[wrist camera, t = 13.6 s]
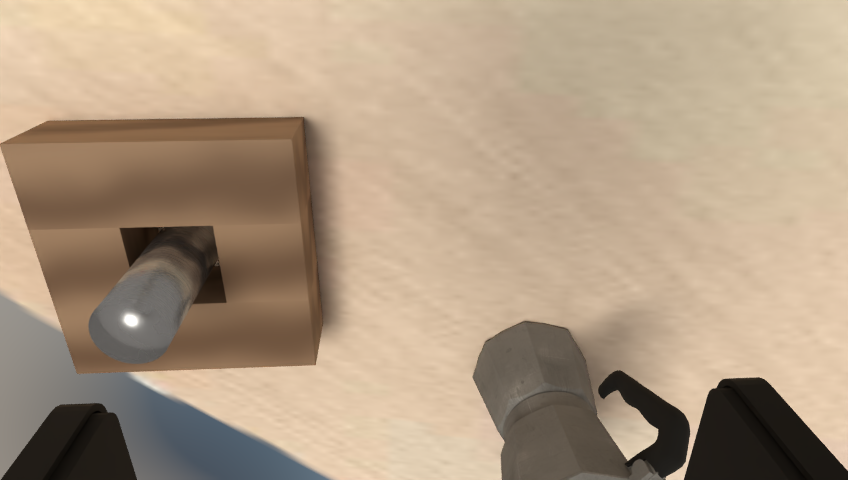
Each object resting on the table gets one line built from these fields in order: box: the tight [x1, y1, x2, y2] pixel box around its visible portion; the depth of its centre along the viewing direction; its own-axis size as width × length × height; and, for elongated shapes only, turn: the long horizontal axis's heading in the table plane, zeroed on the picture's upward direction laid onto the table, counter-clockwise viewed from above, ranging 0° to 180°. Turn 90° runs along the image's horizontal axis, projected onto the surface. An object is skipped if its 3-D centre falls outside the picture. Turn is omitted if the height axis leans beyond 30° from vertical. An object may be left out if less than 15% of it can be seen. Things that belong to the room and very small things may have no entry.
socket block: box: [0, 117, 323, 374], centre depth 38 cm, size 16×16×5 cm
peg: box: [88, 226, 219, 364], centre depth 35 cm, size 4×4×12 cm
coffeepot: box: [473, 322, 690, 480], centre depth 39 cm, size 15×9×18 cm, turn 143°
